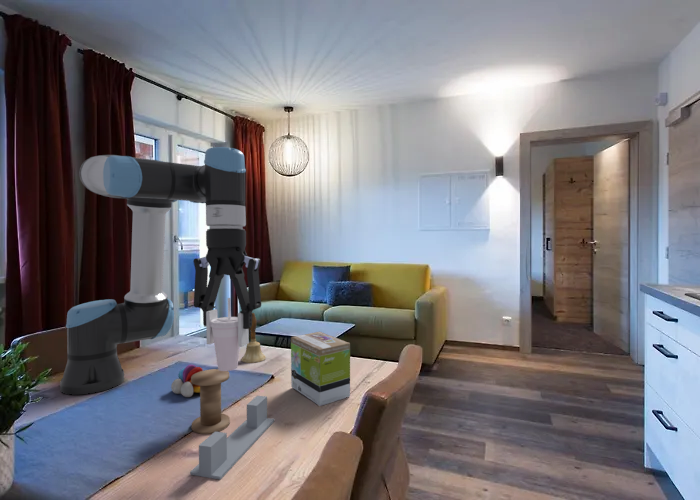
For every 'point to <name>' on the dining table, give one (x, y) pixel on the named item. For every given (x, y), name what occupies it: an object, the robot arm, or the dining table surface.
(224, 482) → the dining table surface
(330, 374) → the tea box
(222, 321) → the smoothie
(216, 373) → the bobbin
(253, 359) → the hand bell
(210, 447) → the board with upright blocks
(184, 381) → the rainbow toy
